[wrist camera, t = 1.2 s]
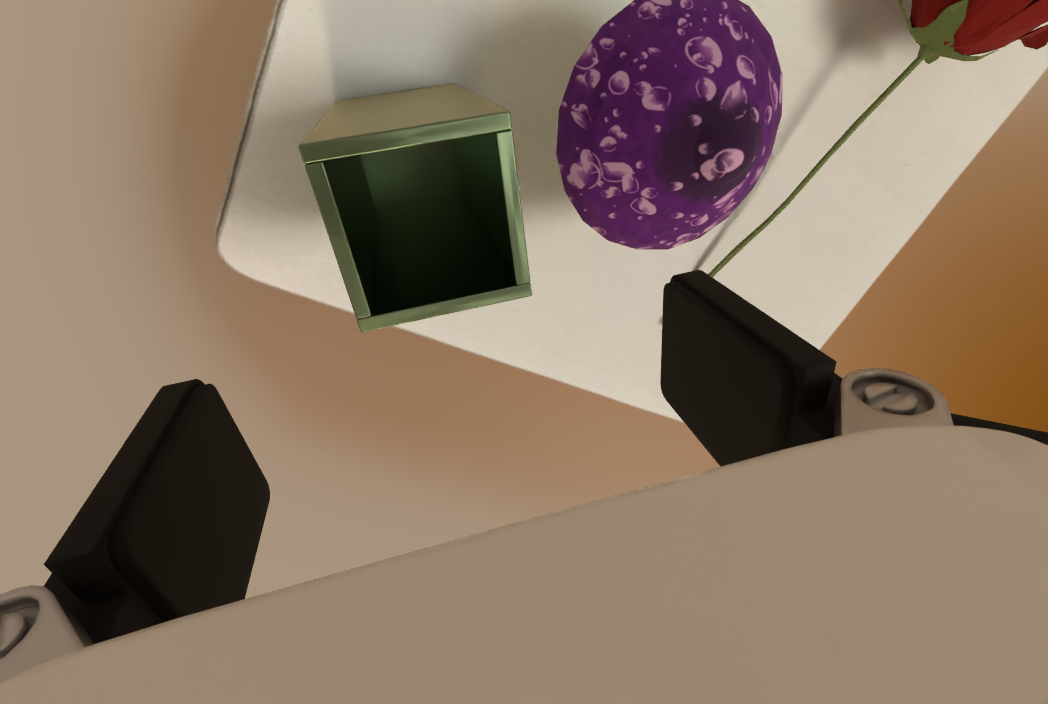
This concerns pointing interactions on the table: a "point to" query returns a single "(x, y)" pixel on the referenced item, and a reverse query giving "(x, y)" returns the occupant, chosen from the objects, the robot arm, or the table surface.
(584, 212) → the decorative mushroom
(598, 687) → the robot arm
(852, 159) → the table surface
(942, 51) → the flower
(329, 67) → the table surface
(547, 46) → the table surface
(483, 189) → the box
